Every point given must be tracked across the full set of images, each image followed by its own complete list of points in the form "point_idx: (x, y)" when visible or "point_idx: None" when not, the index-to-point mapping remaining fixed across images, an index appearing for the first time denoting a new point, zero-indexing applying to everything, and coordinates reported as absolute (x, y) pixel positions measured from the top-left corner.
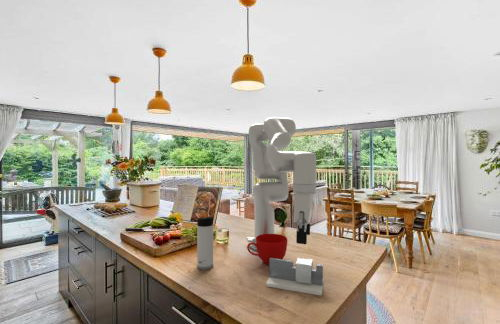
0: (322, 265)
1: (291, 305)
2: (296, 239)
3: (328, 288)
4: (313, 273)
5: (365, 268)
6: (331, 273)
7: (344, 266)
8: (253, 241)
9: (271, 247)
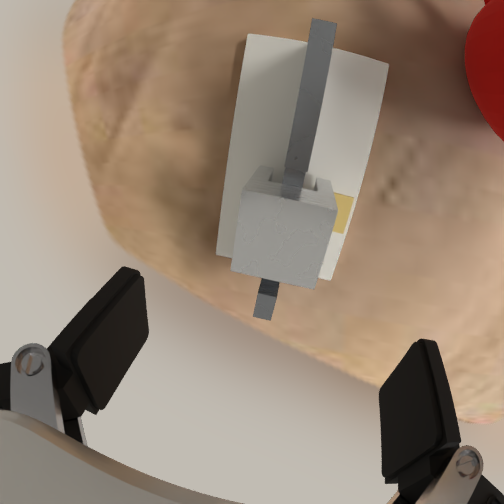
0: (260, 317)
1: (137, 146)
2: (106, 283)
3: None
4: None
5: None
6: (392, 310)
7: None
8: None
9: (493, 53)
